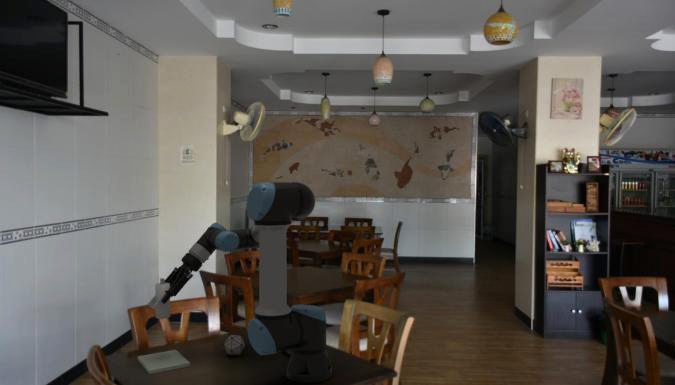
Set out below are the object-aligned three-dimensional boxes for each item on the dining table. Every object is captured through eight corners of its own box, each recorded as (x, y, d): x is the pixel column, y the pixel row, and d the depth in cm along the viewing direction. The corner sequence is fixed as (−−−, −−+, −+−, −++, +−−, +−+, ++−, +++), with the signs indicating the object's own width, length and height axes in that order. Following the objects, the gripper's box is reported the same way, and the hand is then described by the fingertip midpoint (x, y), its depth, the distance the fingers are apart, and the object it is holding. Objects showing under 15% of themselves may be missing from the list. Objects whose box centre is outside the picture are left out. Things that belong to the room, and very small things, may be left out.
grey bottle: (172, 317, 189) (171, 278, 189) (157, 319, 186) (157, 280, 186) (168, 314, 193) (167, 276, 193) (154, 316, 191) (153, 278, 190)
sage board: (190, 366, 185) (189, 362, 185) (149, 374, 178) (149, 370, 178) (175, 352, 200) (175, 349, 200) (137, 359, 193) (137, 356, 193)
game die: (235, 367, 195) (229, 350, 188) (221, 354, 199) (214, 338, 193) (253, 350, 200) (248, 334, 193) (238, 339, 204) (233, 323, 198)
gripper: (212, 267, 192) (169, 319, 182) (193, 261, 206) (151, 309, 196) (198, 254, 189) (153, 306, 179) (179, 249, 203) (137, 297, 193)
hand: (152, 308), depth 188 cm, fingers closed on grey bottle, 5 cm apart
